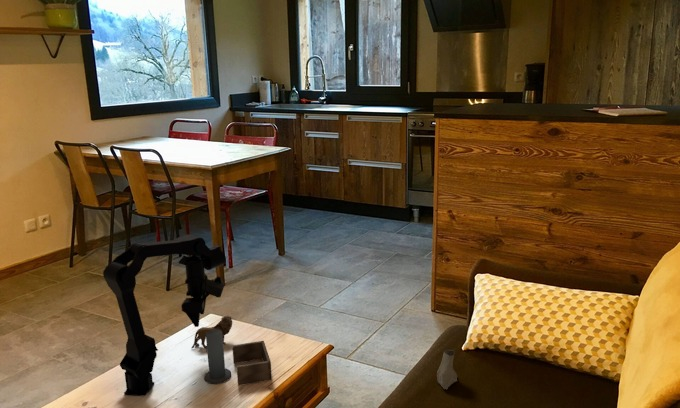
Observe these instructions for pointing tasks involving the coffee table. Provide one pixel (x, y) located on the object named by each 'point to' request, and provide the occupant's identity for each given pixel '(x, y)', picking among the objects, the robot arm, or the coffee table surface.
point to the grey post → (215, 354)
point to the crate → (254, 370)
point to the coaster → (218, 381)
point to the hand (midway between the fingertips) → (199, 320)
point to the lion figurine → (222, 325)
